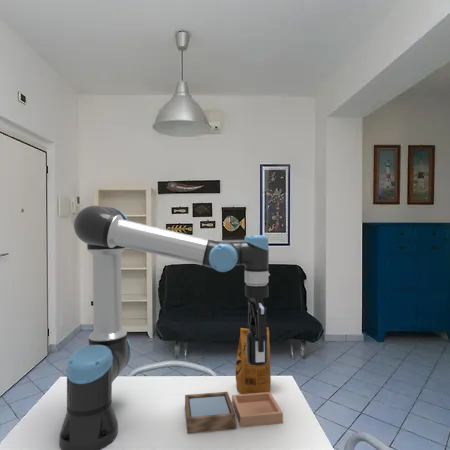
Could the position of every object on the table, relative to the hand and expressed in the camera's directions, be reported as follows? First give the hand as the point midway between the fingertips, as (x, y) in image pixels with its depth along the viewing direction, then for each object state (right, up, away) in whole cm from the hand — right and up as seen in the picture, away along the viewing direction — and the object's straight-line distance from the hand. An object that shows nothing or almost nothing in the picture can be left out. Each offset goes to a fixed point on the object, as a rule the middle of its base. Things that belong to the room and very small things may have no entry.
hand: (256, 356), depth 106 cm
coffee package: (0, -18, +16) cm, 24 cm away
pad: (-15, -15, -3) cm, 22 cm away
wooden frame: (-15, -18, -3) cm, 23 cm away
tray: (0, -18, 0) cm, 18 cm away
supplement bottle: (0, -2, 0) cm, 2 cm away
